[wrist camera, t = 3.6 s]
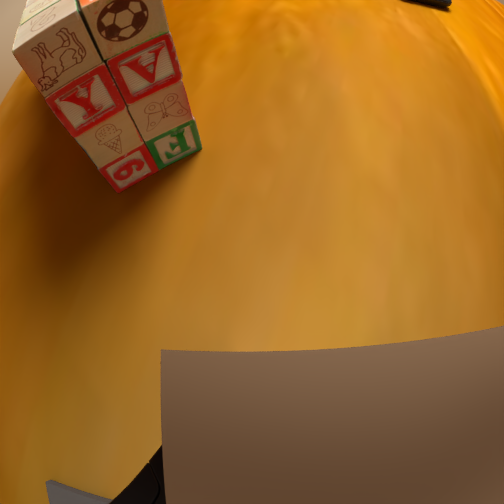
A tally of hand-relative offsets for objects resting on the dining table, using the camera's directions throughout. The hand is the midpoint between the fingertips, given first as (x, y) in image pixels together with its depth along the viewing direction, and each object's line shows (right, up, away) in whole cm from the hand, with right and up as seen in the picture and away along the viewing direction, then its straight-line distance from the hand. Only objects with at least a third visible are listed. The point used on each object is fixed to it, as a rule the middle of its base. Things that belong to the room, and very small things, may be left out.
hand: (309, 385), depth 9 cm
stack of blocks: (-12, +17, +14) cm, 26 cm away
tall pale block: (0, -3, +6) cm, 7 cm away
